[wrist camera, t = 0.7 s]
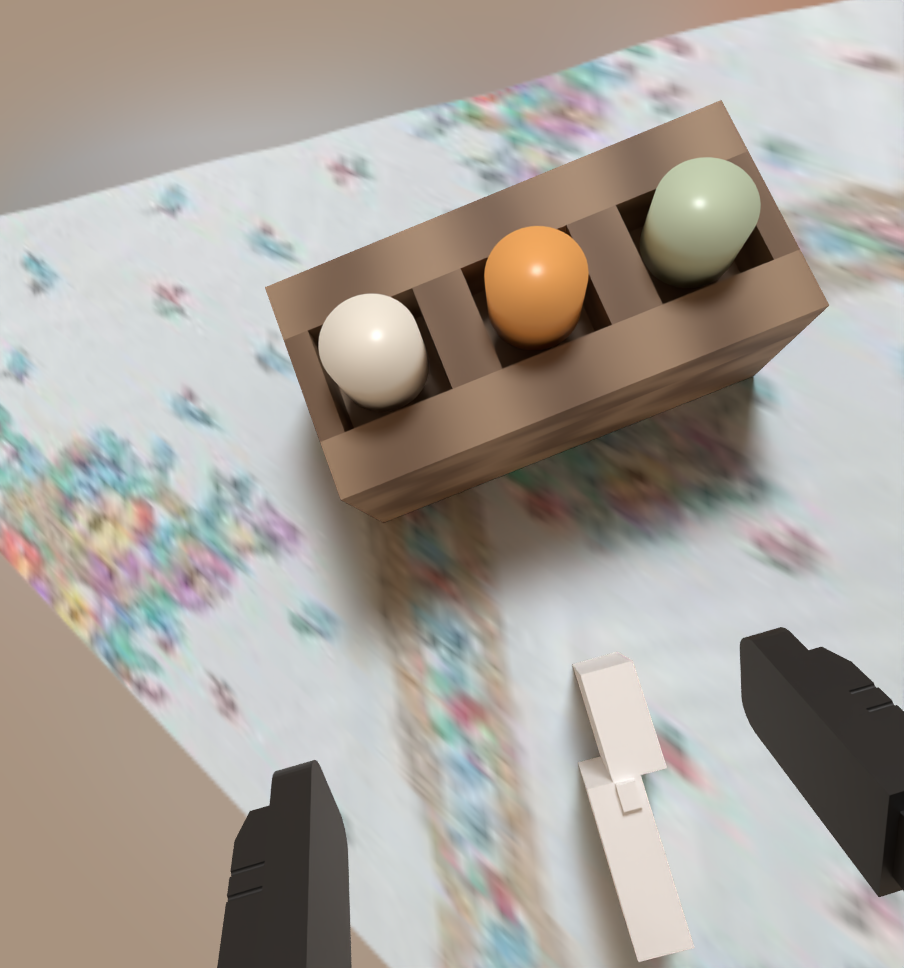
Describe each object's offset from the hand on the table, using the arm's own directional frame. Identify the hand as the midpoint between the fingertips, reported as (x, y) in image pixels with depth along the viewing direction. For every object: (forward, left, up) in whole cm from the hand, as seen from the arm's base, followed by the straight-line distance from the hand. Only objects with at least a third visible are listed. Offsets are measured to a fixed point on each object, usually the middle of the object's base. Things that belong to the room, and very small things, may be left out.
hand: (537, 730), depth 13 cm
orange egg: (-6, -14, -15) cm, 21 cm away
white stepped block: (-2, +7, -24) cm, 25 cm away
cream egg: (+1, -14, -15) cm, 20 cm away
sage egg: (-13, -14, -15) cm, 24 cm away
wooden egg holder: (-6, -14, -23) cm, 27 cm away
